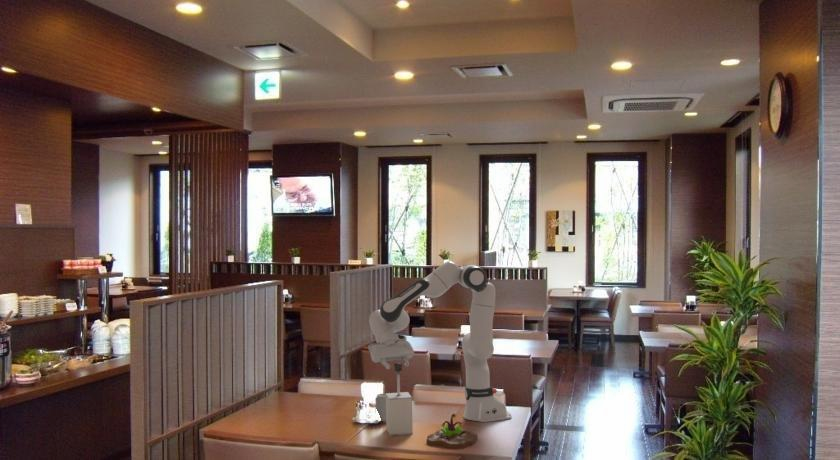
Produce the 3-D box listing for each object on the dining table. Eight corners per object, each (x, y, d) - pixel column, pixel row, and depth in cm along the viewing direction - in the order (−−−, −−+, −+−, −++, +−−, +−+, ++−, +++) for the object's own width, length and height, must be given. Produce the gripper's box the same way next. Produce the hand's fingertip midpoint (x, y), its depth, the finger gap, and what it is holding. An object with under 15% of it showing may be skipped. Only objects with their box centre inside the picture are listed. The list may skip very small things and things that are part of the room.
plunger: (406, 408, 305) (405, 361, 305) (409, 413, 297) (408, 364, 297) (388, 409, 303) (387, 362, 303) (391, 414, 295) (390, 365, 296)
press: (408, 427, 306) (407, 392, 306) (412, 434, 296) (412, 397, 296) (386, 429, 304) (385, 393, 304) (389, 435, 294) (389, 398, 294)
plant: (484, 438, 289) (483, 412, 289) (463, 451, 273) (462, 423, 273) (443, 432, 300) (442, 406, 300) (420, 444, 283) (419, 417, 283)
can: (389, 422, 314) (389, 396, 315) (374, 422, 316) (373, 396, 316) (393, 418, 322) (393, 393, 322) (378, 417, 323) (377, 392, 323)
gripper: (368, 339, 301) (379, 365, 293) (408, 335, 312) (420, 360, 304) (364, 348, 305) (374, 374, 297) (404, 344, 316) (415, 368, 307)
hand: (398, 367), depth 300 cm, fingers open, 8 cm apart
